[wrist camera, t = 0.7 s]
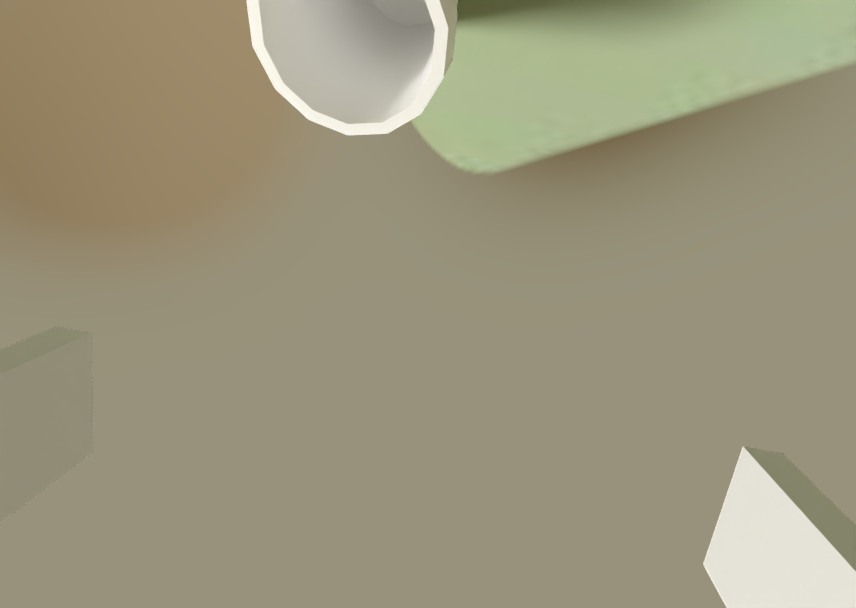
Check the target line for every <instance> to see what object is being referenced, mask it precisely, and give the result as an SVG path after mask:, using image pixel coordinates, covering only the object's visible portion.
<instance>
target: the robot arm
mask: <svg viewBox="0 0 856 608" xmlns="http://www.w3.org/2000/svg"><path fill="white" fill-rule="evenodd" d="M92 390H93V387H92V333H91V332H85V331H79V330H73V329H67V328H62V327H53V328H51V329H48V330H46V331H43V332H41V333H38V334H36V335H33V336H31V337H28V338H26V339H23V340H21V341H19V342H16V343H14V344H11V345H9V346H6V347H4V348H1V349H0V523H2V522H3V521H4V520H5V519H7V518H8V517H9V516H11V515H12V514H13V513H15V512H16V511H17V510H18V509H20V508H21V507H22V506H24V505H25V504H26V503H28V502H29V501H30V500H31V499H33V498H34V497H35V496H37V495H38V494H39V493H41V492H42V491H43V490H45V489H46V488H47V487H48V486H50V485H51V484H52V483H54V482H55V481H56V480H58V479H59V478H60V477H61V476H63V475H64V474H65V473H67V472H68V471H69V470H71V469H72V468H73V467H74V466H76V465H77V464H78V463H79V462H81V461H82V460H84V459H85V458H86V457H87V456H89V455H90V454H91V453H92V452H93V451H94V449H93V448H94V447H93V391H92ZM703 565H704V567H705V569H706V571H707V573H708V574H709V576H710V578H711V580H712V582H713V584H714V585H715V587H716V589H717V591H718V593H719V595H720V596H721V598H722V600H723V602H724V604H725V606H726V607H727V608H856V524H855V523H854V522H853V521H852V520H851V519H849V518H848V517H847V516H846V515H845V514H844V513H843V512H842V511H841V510H840V509H839V508H838V507H837V506H836V505H835V504H834V503H833V502H832V501H831V500H830V499H829V498H828V497H827V496H826V495H825V494H824V493H823V492H822V491H821V490H820V489H819V488H818V487H817V486H816V485H815V484H814V483H813V482H812V481H811V480H810V479H809V478H808V477H807V476H806V475H805V474H804V473H803V472H802V471H801V470H800V469H799V468H798V467H796V465H795V464H794V463H793V462H792V461H791V460H790V459H789V458H787V456H785V455H784V453H779V452H773V451H767V450H761V449H756V448H750V447H744V446H743V448H742V451H741V454H740V457H739V459H738V462H737V465H736V468H735V471H734V474H733V477H732V480H731V483H730V486H729V489H728V492H727V495H726V498H725V501H724V504H723V507H722V510H721V513H720V516H719V519H718V522H717V525H716V528H715V531H714V534H713V537H712V540H711V543H710V546H709V549H708V552H707V554H706V557H705V561H704V563H703Z"/></svg>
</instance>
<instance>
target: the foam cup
mask: <svg viewBox="0 0 856 608" xmlns="http://www.w3.org/2000/svg"><path fill="white" fill-rule="evenodd" d="M246 1H247V8H248V16H249V24H250V31H251V39H252V46H253V48H254V50H255V52H256V54H257V56H258V57H259V59H260V61H261V63H262V65H263V67H264V69H265V70H266V73H267V74H268V76H269V78H270V80H271V82H272V84H273V86H274V88H275V89H276V90H277V91H278V92H279V93H280V94H281V95H282V96H283V97H284V98H286V99H287V100H288V101H289V102H290V103H291V104H292V105H293V106H294V107H295V108H296V109H297V110H299V111H300V112H301V113H302V114H303V115H304V116H305V117H306V118H307V119H308V120H310V121H313V122H316V123H318V124H321V125H323V126H326V127H328V128H331V129H333V130H336V131H339V132H341V133H343V134H346V135H365V134H387V133H389V132H391V131H392V130H394V129H396V128H398V127H399V126H401V125H403V124H405V123H406V122H408V121H410V120H412V119H413V118H415V117H417V116H418V115H420V114H421V113H422V112H423V110H424V108H425V107H426V105H427V104H428V102H429V100H430V99H431V97H432V95H433V94H434V92H435V91H436V89H437V87H438V86H439V84H440V82H441V81H442V79H443V78H444V76H445V74H446V72H447V70H448V68H449V66H450V64H451V62H452V60H453V52H454V43H455V33H456V24H457V15H458V12H457V4H458V0H246Z"/></svg>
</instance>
